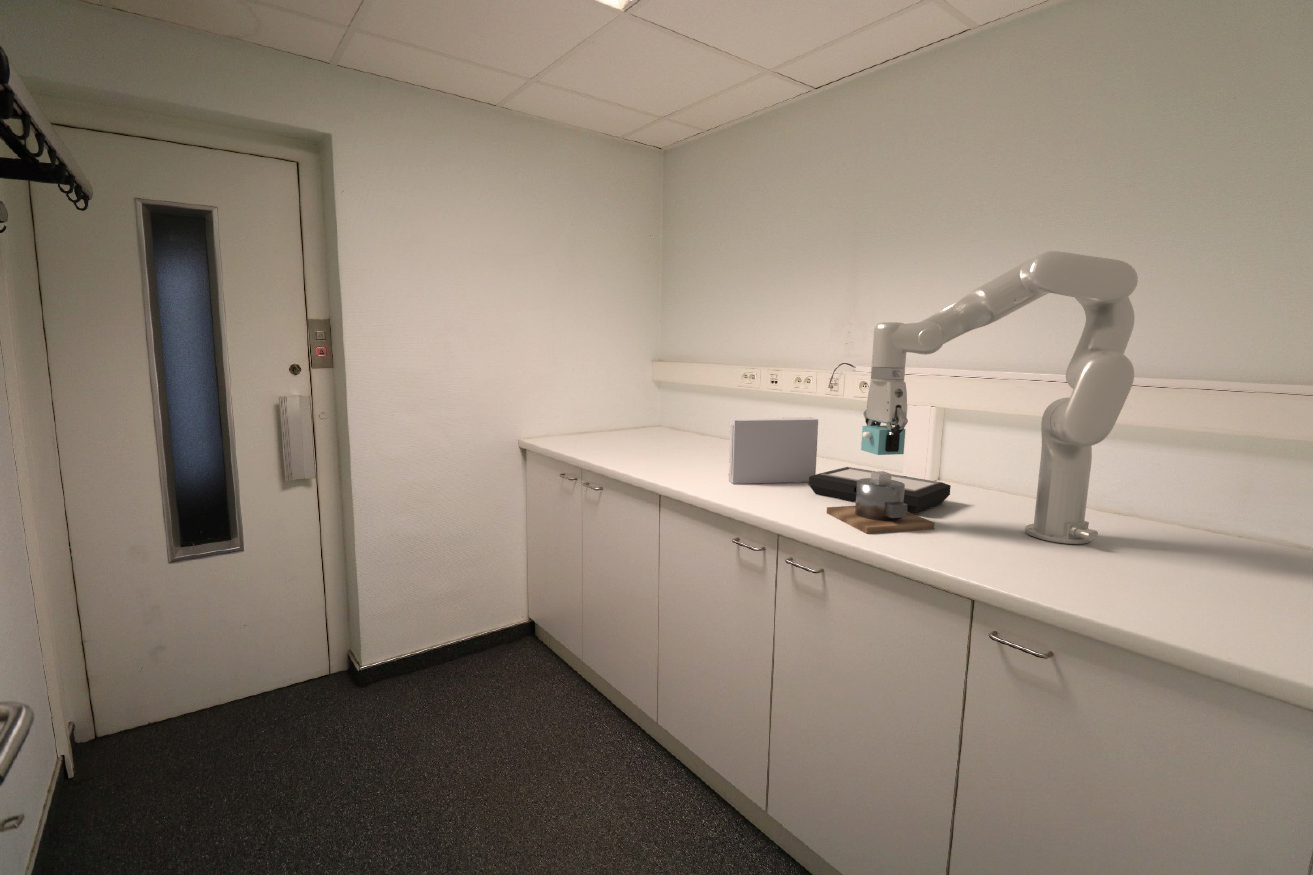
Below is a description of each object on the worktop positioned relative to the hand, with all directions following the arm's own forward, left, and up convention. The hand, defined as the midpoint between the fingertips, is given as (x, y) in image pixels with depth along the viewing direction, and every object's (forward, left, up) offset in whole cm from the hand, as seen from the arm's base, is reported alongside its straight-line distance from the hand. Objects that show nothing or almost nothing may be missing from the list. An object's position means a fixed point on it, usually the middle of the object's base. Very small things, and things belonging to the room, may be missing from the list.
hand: (882, 448), depth 149 cm
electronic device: (+19, -13, -19) cm, 30 cm away
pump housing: (0, 0, -1) cm, 1 cm away
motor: (-1, 0, -17) cm, 17 cm away
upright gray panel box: (+47, +7, -18) cm, 51 cm away
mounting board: (0, 0, -18) cm, 18 cm away
